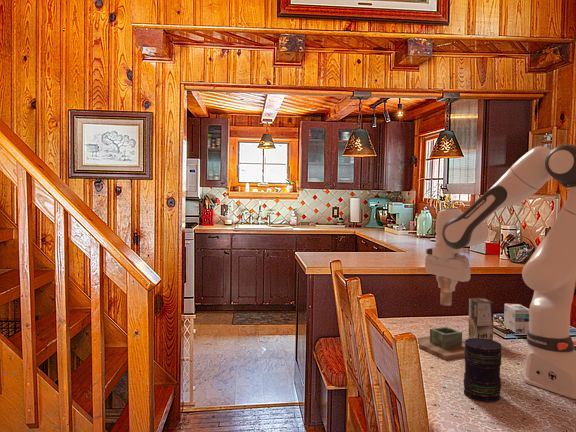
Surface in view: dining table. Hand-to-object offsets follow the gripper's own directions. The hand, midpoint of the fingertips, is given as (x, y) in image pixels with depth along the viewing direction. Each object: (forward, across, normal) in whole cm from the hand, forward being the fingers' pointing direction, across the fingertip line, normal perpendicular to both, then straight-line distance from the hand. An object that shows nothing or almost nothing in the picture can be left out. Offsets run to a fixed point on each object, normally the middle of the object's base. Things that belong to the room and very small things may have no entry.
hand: (446, 289), depth 175 cm
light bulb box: (+22, +4, -41) cm, 47 cm away
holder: (+22, 0, 0) cm, 22 cm away
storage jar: (+22, -36, +19) cm, 46 cm away
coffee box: (+22, +1, -18) cm, 29 cm away
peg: (+6, 0, 0) cm, 6 cm away
